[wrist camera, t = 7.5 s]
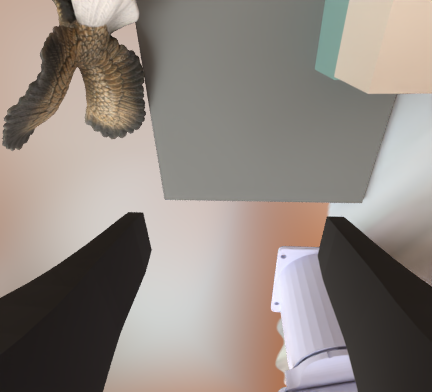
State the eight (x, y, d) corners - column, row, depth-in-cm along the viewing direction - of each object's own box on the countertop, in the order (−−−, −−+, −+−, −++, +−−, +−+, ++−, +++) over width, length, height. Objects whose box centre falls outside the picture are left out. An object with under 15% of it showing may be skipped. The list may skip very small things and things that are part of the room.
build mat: (359, 200, 21) (361, 203, 21) (165, 197, 22) (164, 199, 22) (467, -143, 11) (474, -148, 11) (115, -112, 13) (112, -116, 12)
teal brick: (392, 67, 16) (433, 77, 12) (314, 69, 16) (334, 79, 13) (421, -32, 13) (483, -53, 10) (329, -27, 14) (358, -45, 10)
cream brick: (433, 75, 12) (507, 92, 9) (333, 76, 13) (368, 93, 9) (484, -57, 10) (613, -102, 6) (359, -50, 10) (418, -90, 7)
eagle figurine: (-24, -42, 14) (10, 140, 17) (-84, -127, 8) (-12, 177, 11) (133, 0, 18) (135, 141, 21) (174, -36, 12) (166, 168, 15)
